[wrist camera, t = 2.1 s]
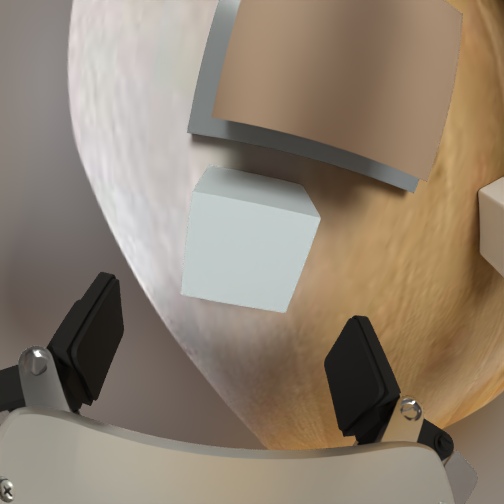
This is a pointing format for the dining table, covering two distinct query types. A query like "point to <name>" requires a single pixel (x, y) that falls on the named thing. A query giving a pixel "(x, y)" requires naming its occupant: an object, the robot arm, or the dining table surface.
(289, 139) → the slate board
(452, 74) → the walnut block
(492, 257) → the medicine bottle
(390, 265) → the dining table surface
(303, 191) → the blue-grey block
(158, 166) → the dining table surface
